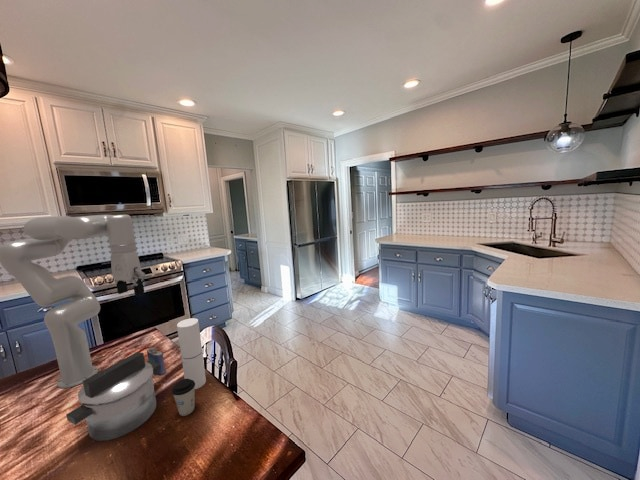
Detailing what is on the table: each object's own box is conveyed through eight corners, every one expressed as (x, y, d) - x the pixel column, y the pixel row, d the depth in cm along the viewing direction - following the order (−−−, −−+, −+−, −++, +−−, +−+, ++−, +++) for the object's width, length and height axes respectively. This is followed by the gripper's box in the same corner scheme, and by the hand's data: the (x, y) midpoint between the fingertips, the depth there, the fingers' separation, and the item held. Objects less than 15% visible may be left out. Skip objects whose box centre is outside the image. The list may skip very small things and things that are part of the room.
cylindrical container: (198, 390, 98) (189, 327, 94) (181, 388, 99) (172, 326, 95) (209, 377, 105) (202, 318, 101) (193, 376, 106) (185, 317, 102)
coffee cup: (193, 399, 94) (190, 373, 92) (201, 409, 89) (197, 382, 87) (172, 410, 89) (168, 384, 87) (179, 422, 84) (174, 394, 82)
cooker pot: (60, 440, 79) (52, 405, 78) (144, 384, 103) (140, 355, 101) (96, 460, 72) (87, 422, 71) (177, 395, 96) (173, 365, 94)
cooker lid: (101, 413, 73) (97, 394, 72) (65, 395, 81) (61, 377, 80) (165, 371, 90) (163, 355, 89) (131, 359, 98) (128, 344, 97)
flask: (167, 372, 109) (163, 348, 108) (159, 376, 107) (155, 352, 105) (154, 366, 114) (150, 343, 112) (147, 370, 111) (143, 347, 110)
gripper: (97, 250, 96) (106, 295, 98) (128, 251, 89) (136, 300, 92) (119, 246, 102) (127, 288, 105) (149, 247, 96) (156, 292, 98)
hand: (131, 293), depth 98 cm, fingers open, 9 cm apart
